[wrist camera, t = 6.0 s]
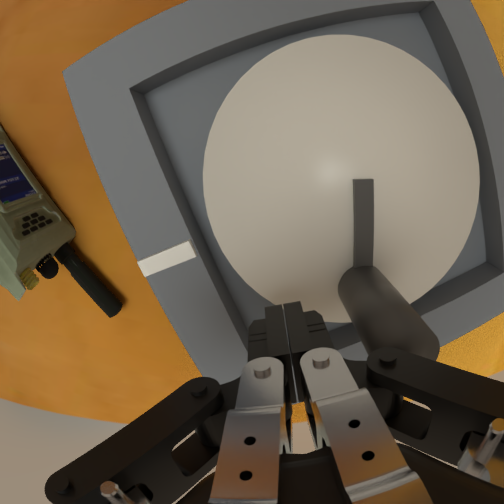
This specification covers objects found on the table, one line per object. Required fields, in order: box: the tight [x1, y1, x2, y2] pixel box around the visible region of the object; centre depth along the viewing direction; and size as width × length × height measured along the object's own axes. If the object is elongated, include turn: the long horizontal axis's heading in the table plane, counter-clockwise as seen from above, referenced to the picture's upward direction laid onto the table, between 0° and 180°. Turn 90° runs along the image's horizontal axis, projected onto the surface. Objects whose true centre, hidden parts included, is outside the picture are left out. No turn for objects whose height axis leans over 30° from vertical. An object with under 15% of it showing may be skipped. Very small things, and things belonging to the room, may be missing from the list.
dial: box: [203, 35, 480, 361], centre depth 11 cm, size 14×14×8 cm
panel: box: [62, 0, 504, 405], centre depth 15 cm, size 22×22×4 cm
